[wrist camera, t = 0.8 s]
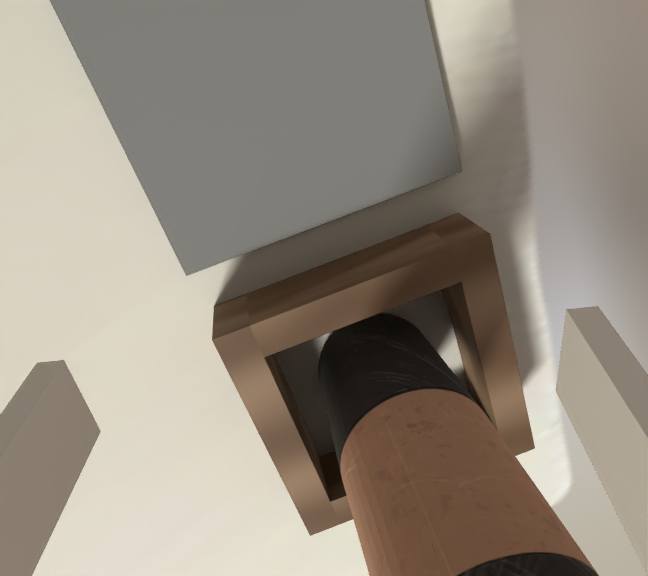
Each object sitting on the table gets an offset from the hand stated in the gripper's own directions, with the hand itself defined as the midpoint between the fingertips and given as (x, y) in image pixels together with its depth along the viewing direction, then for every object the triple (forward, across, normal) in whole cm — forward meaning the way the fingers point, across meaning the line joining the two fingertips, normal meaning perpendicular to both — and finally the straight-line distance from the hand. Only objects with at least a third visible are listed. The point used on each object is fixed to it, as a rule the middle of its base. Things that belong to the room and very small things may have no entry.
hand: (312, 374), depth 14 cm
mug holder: (+15, +1, -13) cm, 20 cm away
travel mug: (+15, +1, -13) cm, 20 cm away
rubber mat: (+17, -2, +5) cm, 18 cm away
